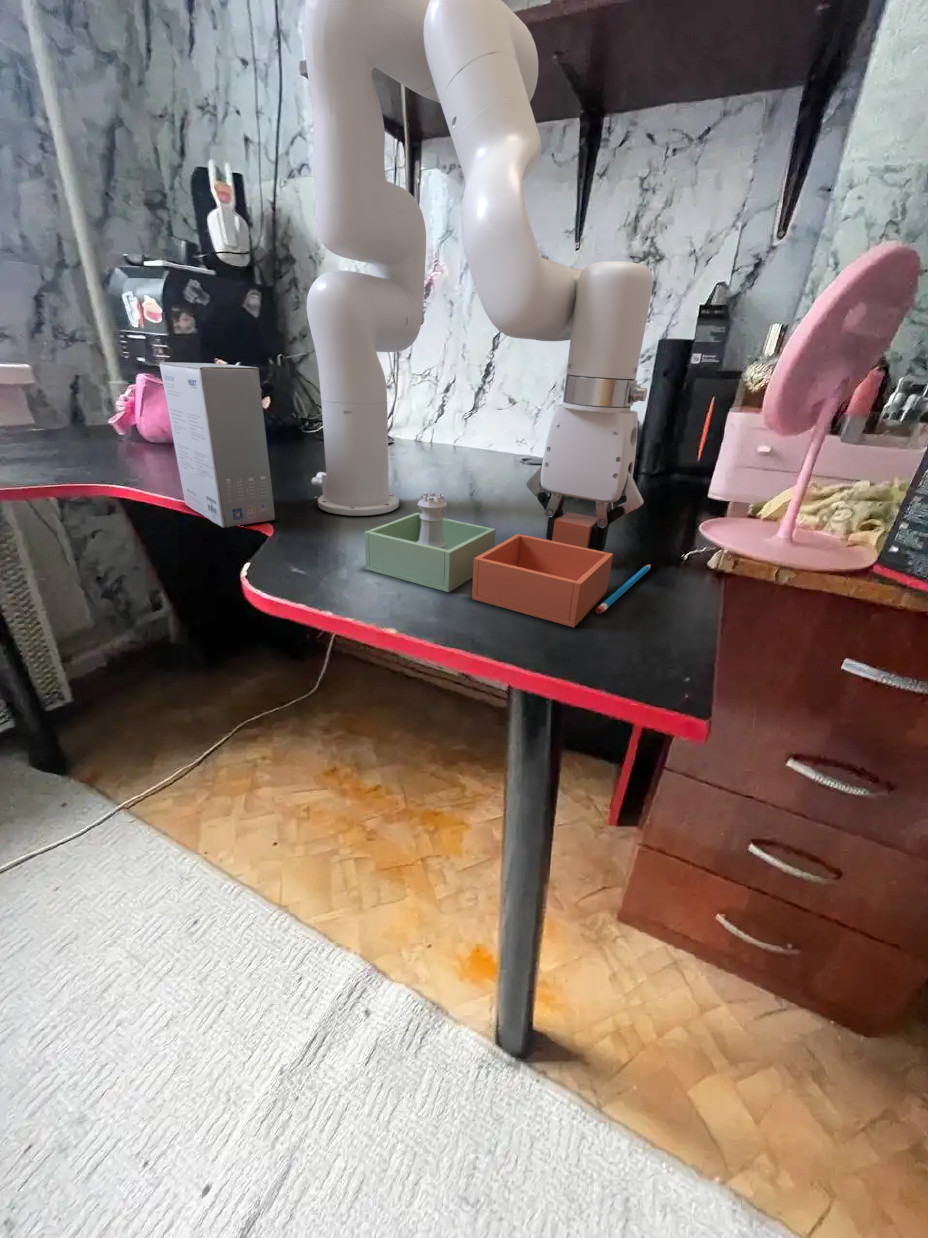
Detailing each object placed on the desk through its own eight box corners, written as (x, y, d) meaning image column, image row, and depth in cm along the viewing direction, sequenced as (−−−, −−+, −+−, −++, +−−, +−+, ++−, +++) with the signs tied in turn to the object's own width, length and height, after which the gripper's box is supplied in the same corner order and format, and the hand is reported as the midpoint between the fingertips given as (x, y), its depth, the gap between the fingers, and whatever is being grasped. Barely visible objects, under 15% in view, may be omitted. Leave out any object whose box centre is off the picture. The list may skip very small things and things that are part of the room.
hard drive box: (277, 521, 78) (260, 367, 69) (223, 530, 73) (197, 366, 64) (233, 498, 88) (212, 361, 79) (182, 505, 83) (155, 360, 74)
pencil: (594, 613, 55) (595, 607, 55) (646, 566, 68) (648, 561, 67) (601, 615, 55) (603, 609, 54) (653, 568, 67) (654, 562, 67)
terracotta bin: (471, 599, 57) (473, 558, 55) (514, 570, 65) (517, 533, 63) (574, 627, 52) (580, 584, 50) (606, 592, 60) (613, 553, 58)
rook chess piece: (445, 572, 62) (447, 501, 58) (407, 567, 62) (407, 498, 59) (454, 558, 66) (456, 492, 62) (418, 555, 66) (418, 489, 63)
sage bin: (365, 569, 63) (364, 531, 61) (416, 546, 71) (417, 512, 69) (448, 592, 58) (450, 552, 56) (493, 565, 66) (495, 528, 64)
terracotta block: (550, 554, 68) (554, 519, 66) (563, 545, 72) (568, 511, 70) (584, 562, 66) (590, 526, 64) (596, 552, 70) (602, 518, 68)
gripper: (682, 400, 60) (648, 557, 68) (541, 387, 67) (525, 530, 75) (668, 404, 54) (632, 575, 62) (514, 389, 61) (500, 544, 70)
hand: (573, 549), depth 69 cm, fingers closed on terracotta block, 4 cm apart
